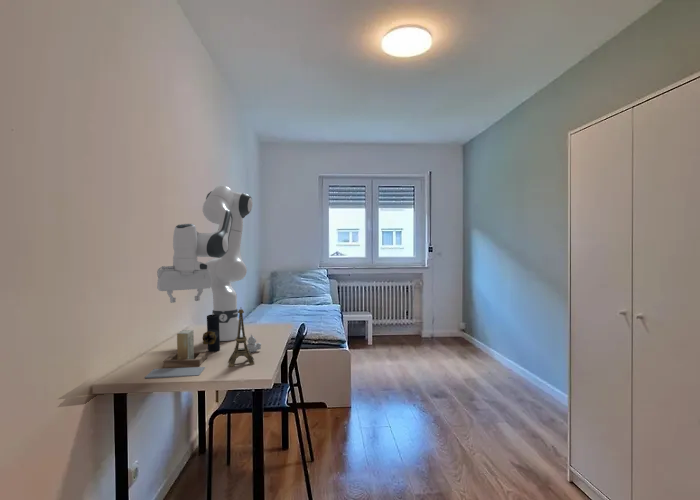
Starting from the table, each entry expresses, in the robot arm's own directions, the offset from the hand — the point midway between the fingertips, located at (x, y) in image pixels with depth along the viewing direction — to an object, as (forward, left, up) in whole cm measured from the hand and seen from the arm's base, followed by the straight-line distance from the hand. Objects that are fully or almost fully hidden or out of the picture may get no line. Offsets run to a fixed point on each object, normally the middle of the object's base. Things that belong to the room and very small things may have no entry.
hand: (185, 301), depth 173 cm
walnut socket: (0, 0, -24) cm, 24 cm away
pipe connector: (-16, +7, -24) cm, 30 cm away
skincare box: (0, 0, -24) cm, 24 cm away
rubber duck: (-13, +24, -24) cm, 37 cm away
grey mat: (+14, 0, -24) cm, 28 cm away
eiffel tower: (+4, +22, -24) cm, 33 cm away
